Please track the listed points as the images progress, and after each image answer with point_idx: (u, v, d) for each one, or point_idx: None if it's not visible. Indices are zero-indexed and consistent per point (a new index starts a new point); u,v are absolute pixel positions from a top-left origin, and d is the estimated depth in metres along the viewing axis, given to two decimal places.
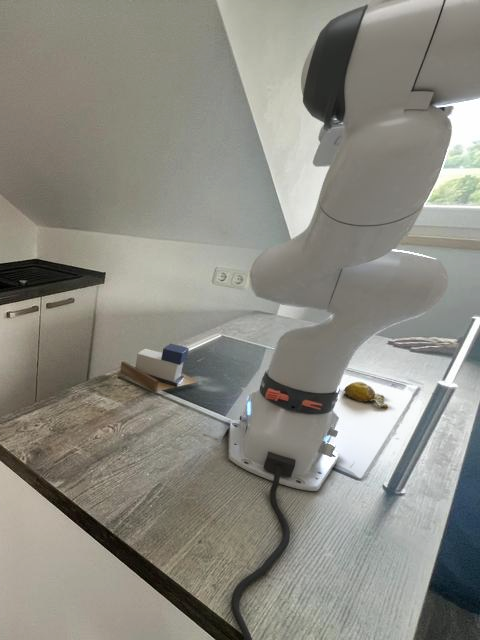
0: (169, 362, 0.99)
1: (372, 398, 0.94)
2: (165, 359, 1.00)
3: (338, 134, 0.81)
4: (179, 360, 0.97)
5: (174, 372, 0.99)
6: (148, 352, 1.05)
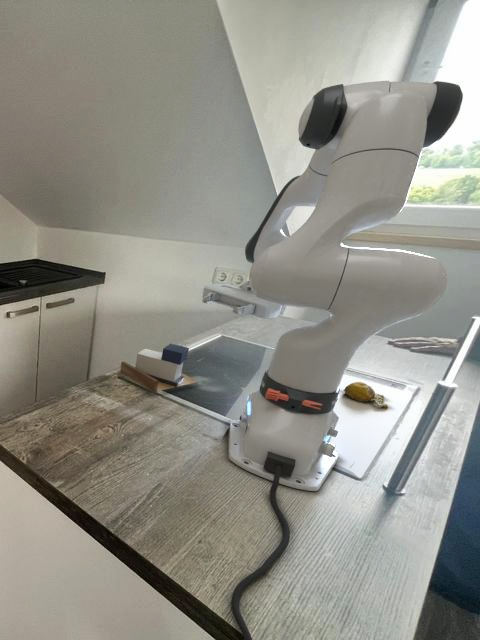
0: (169, 362, 0.99)
1: (372, 398, 0.94)
2: (165, 359, 1.00)
3: (226, 284, 1.12)
4: (179, 360, 0.97)
5: (174, 372, 0.99)
6: (148, 352, 1.05)
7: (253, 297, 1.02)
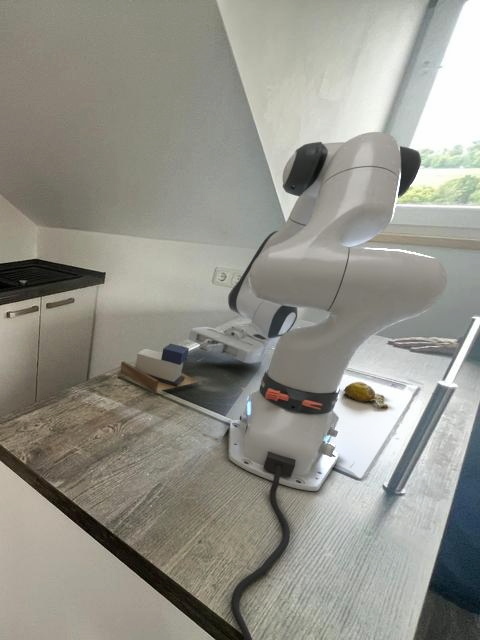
0: (169, 362, 0.99)
1: (372, 398, 0.94)
2: (165, 359, 1.00)
3: (211, 328, 1.17)
4: (179, 360, 0.97)
5: (174, 372, 0.99)
6: (148, 352, 1.05)
7: (236, 341, 1.07)
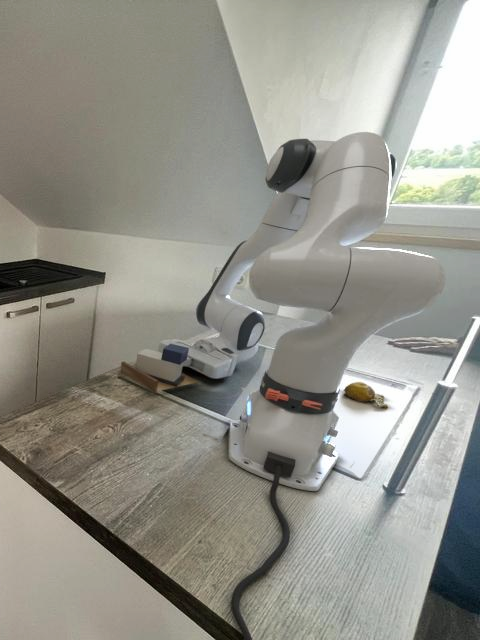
0: (169, 362, 0.99)
1: (372, 398, 0.94)
2: (165, 359, 1.00)
3: (181, 341, 1.14)
4: (179, 360, 0.97)
5: (174, 372, 0.99)
6: (148, 352, 1.05)
7: (203, 355, 1.04)
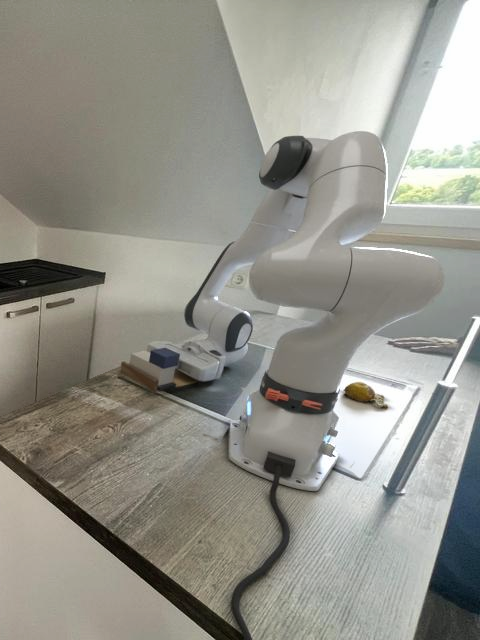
0: (154, 365, 0.97)
1: (372, 398, 0.94)
2: (152, 361, 0.98)
3: (169, 343, 1.12)
4: (163, 364, 0.95)
5: (158, 376, 0.97)
6: (143, 354, 1.04)
7: (191, 358, 1.02)
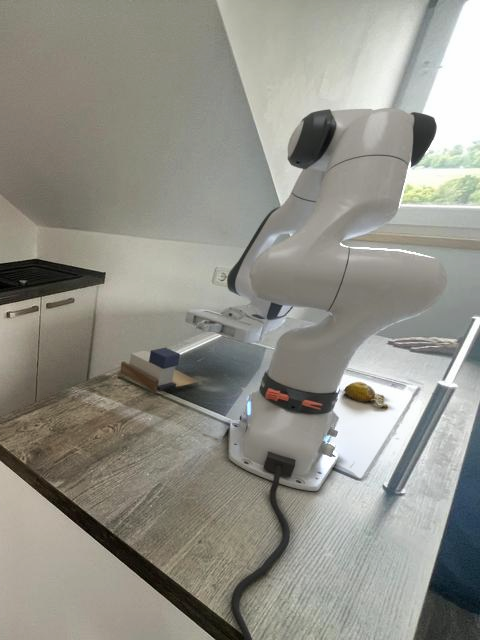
0: (154, 365, 0.97)
1: (372, 398, 0.94)
2: (152, 361, 0.98)
3: (208, 310, 1.13)
4: (163, 364, 0.95)
5: (158, 376, 0.97)
6: (143, 354, 1.04)
7: (233, 321, 1.03)
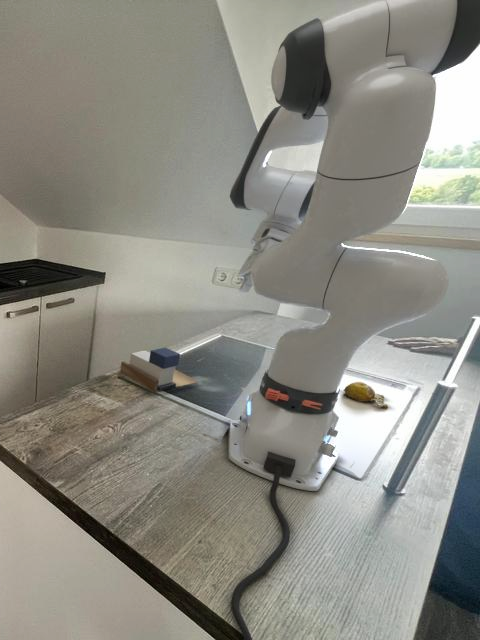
0: (154, 365, 0.97)
1: (372, 398, 0.94)
2: (152, 361, 0.98)
3: (250, 254, 1.05)
4: (163, 364, 0.95)
5: (158, 376, 0.97)
6: (143, 354, 1.04)
7: (256, 259, 0.96)
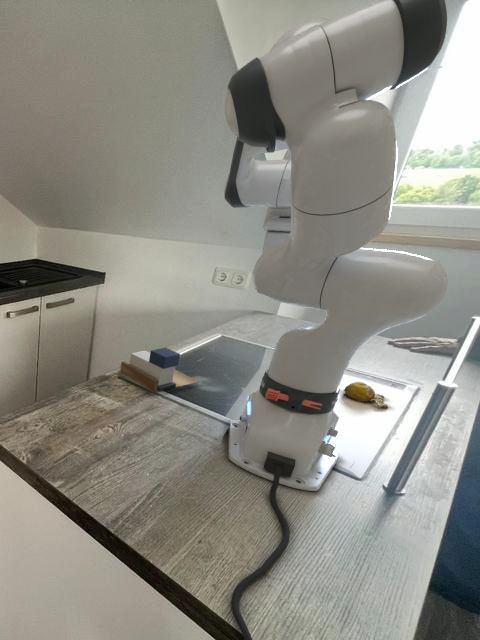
0: (154, 365, 0.97)
1: (372, 398, 0.94)
2: (152, 361, 0.98)
3: None
4: (163, 364, 0.95)
5: (158, 376, 0.97)
6: (143, 354, 1.04)
7: None
